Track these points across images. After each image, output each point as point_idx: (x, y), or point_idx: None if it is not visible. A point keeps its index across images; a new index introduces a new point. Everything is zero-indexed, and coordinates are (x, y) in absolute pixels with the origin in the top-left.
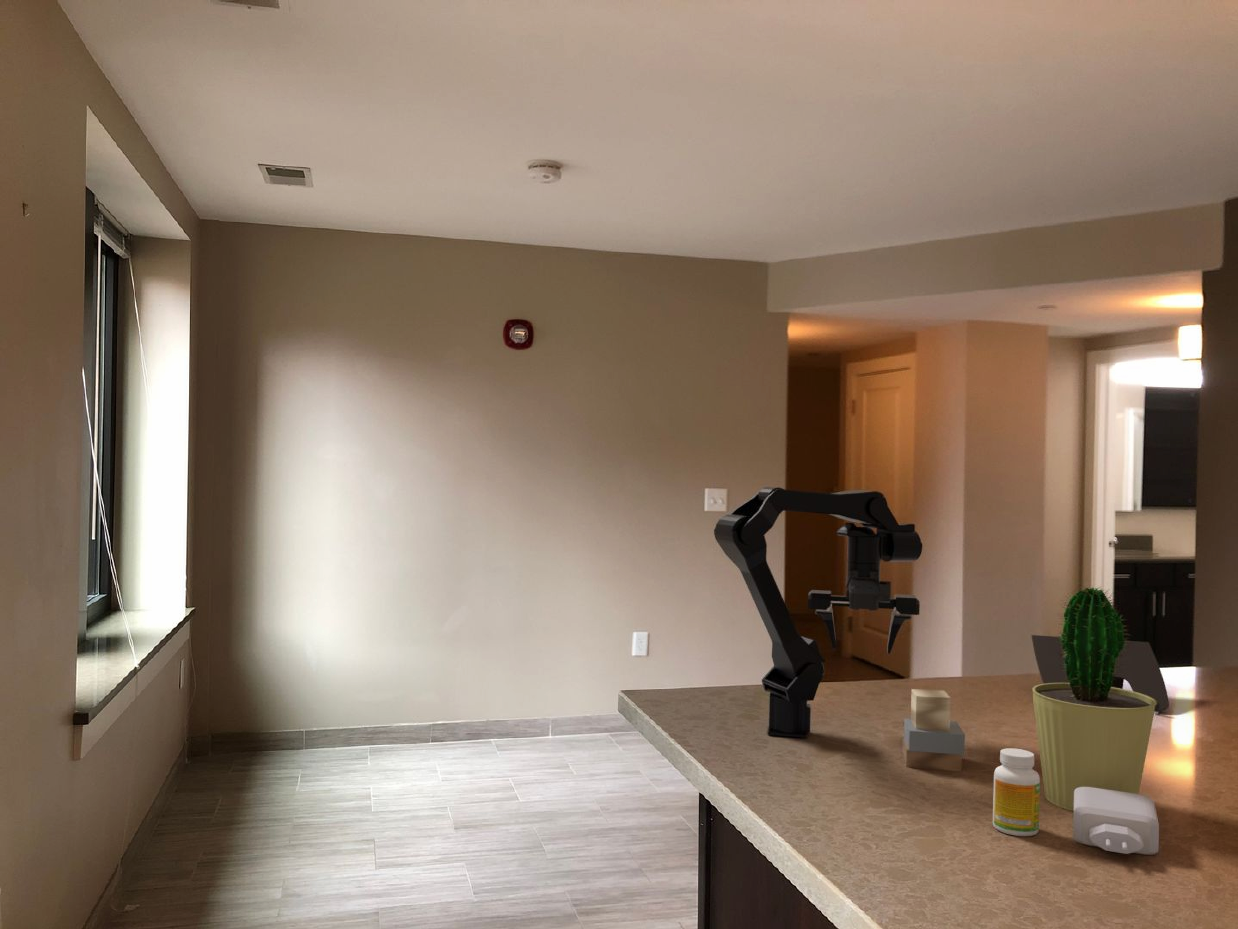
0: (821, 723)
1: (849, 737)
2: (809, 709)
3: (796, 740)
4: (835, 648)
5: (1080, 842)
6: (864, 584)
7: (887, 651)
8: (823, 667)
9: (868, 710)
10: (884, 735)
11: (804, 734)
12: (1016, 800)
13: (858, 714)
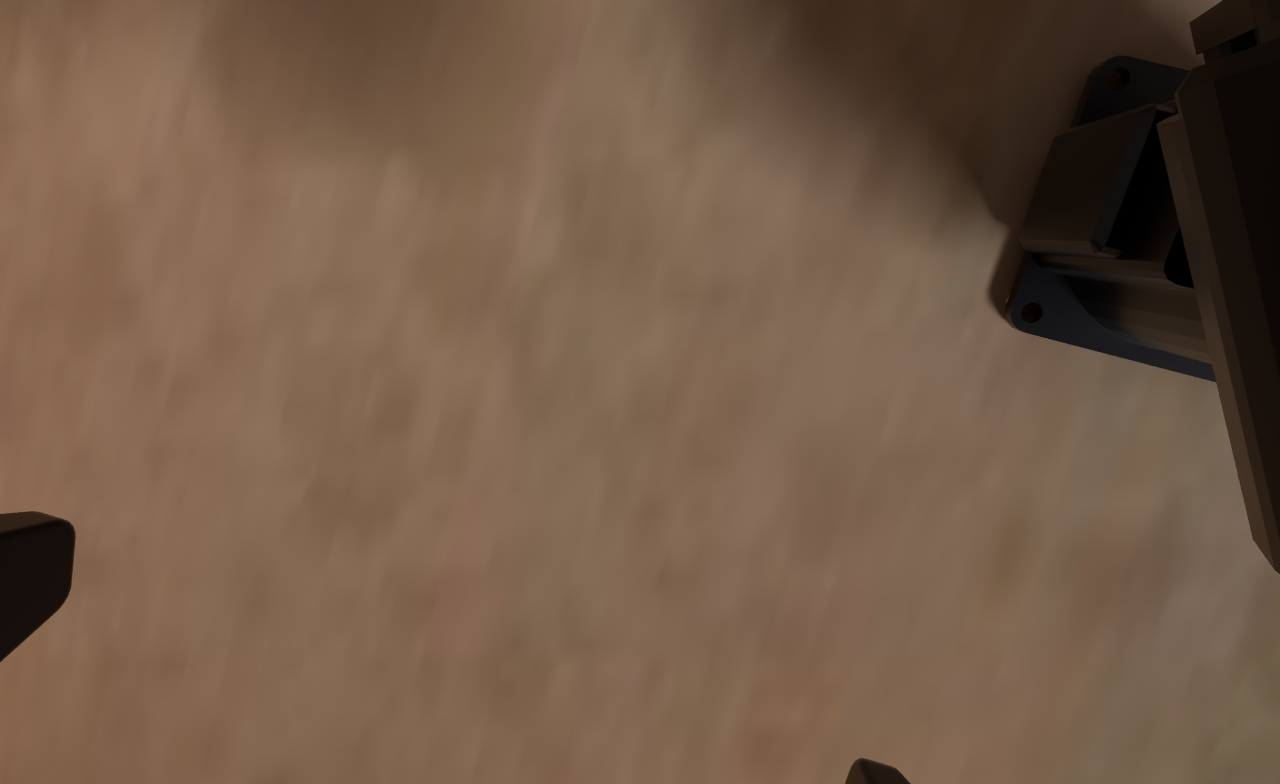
0: (849, 476)
1: (762, 134)
2: (1148, 107)
3: (1180, 22)
4: (866, 772)
5: None
6: None
7: (51, 587)
8: (1260, 54)
9: (464, 769)
10: (516, 201)
11: (1108, 89)
12: None
13: (548, 684)
